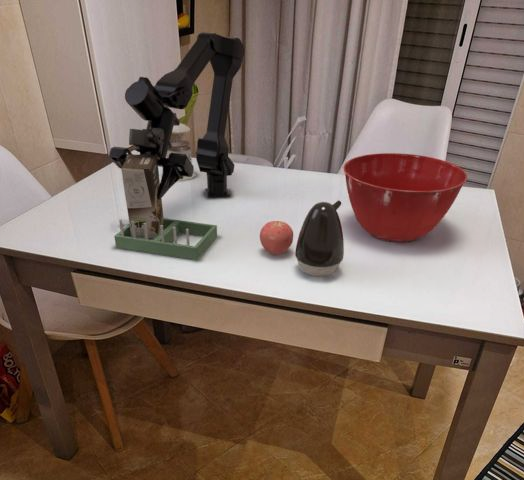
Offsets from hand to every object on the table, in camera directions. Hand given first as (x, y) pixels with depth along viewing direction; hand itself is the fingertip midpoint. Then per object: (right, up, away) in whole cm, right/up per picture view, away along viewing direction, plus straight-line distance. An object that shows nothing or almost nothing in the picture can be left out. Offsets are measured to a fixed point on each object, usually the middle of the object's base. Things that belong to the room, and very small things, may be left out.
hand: (143, 196), depth 112 cm
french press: (+1, +21, +45) cm, 50 cm away
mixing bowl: (+60, -5, +14) cm, 62 cm away
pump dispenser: (+39, -18, -4) cm, 43 cm away
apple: (+30, -12, +2) cm, 33 cm away
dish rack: (+5, -9, +6) cm, 12 cm away
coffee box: (0, -6, +5) cm, 8 cm away
